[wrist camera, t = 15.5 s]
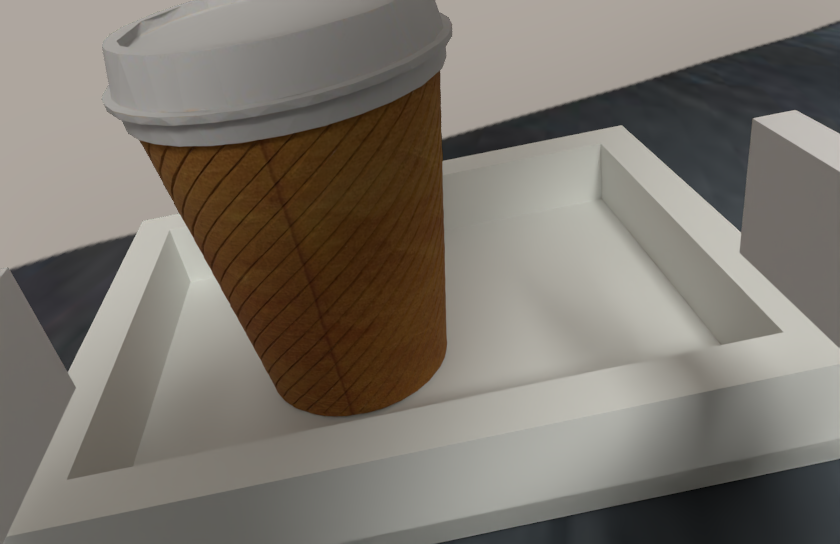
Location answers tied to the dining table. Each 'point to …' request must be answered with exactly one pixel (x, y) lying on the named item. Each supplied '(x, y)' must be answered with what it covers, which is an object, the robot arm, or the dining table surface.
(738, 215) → the dining table surface
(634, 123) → the dining table surface
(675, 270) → the tray
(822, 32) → the dining table surface
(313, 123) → the disposable coffee cup
